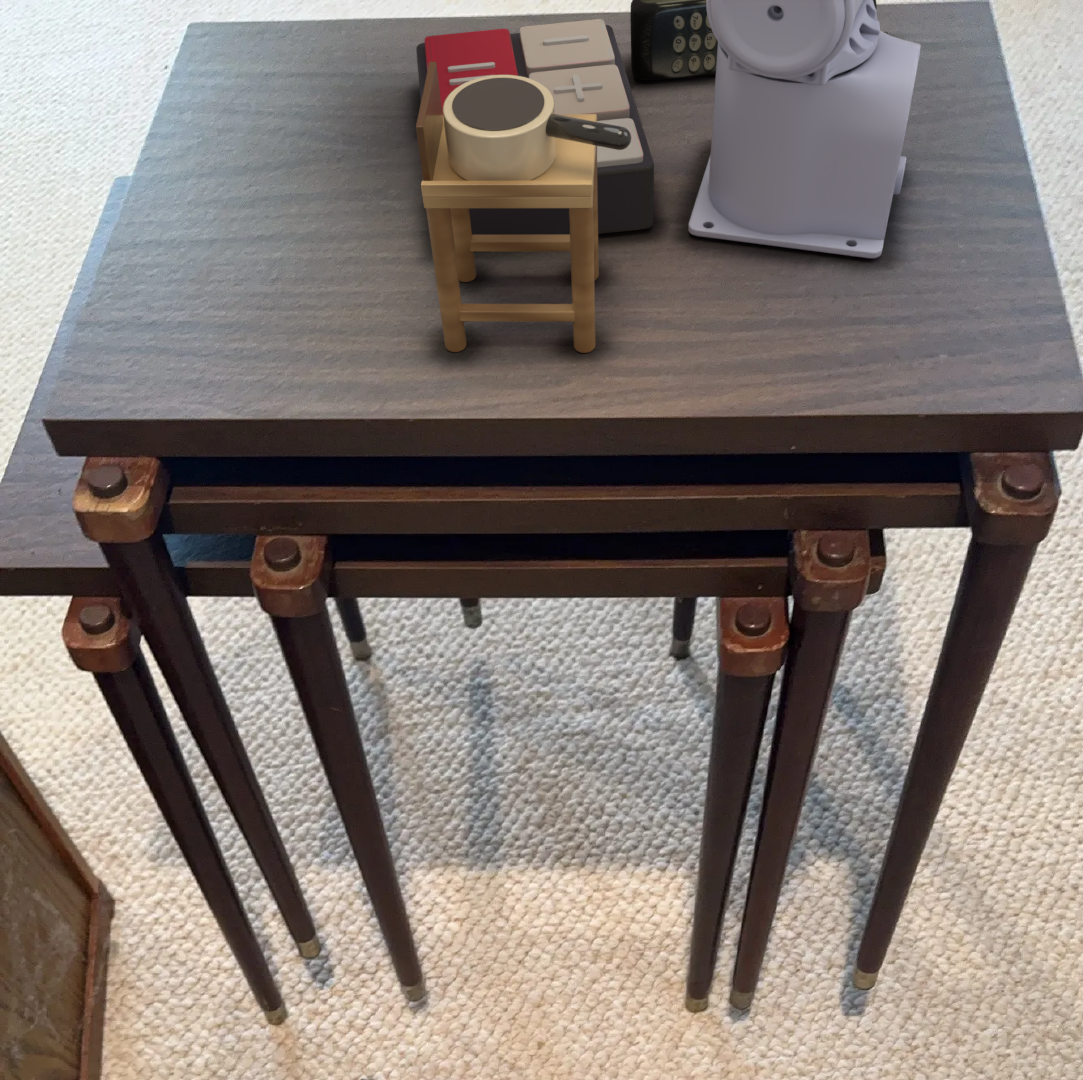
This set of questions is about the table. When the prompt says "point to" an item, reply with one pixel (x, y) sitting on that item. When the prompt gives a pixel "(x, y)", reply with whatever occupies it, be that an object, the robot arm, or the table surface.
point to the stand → (459, 244)
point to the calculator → (557, 112)
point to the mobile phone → (672, 39)
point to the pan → (513, 129)
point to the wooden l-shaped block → (446, 189)
